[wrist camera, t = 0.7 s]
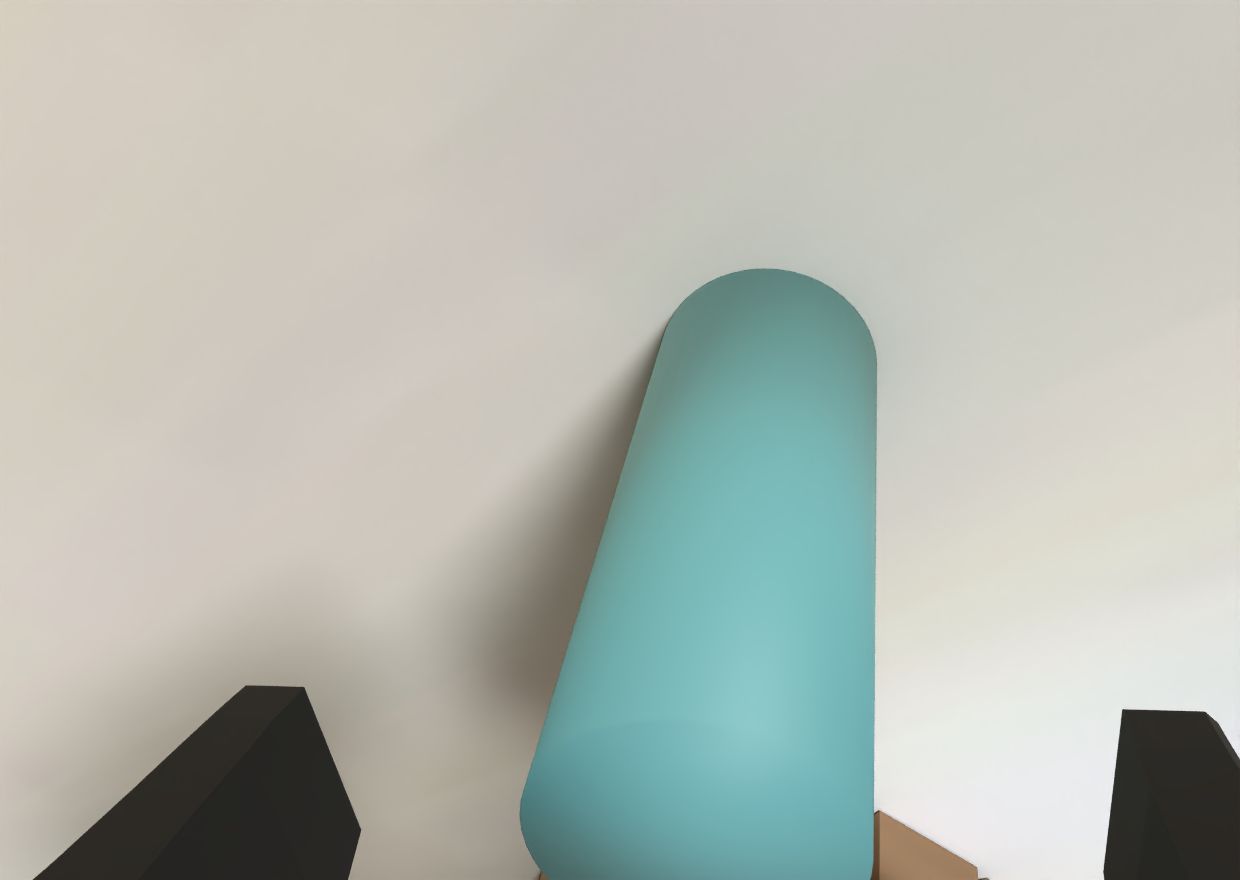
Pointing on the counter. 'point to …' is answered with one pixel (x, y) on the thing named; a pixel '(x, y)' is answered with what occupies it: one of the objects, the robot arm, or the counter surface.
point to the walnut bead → (909, 855)
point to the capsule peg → (727, 611)
